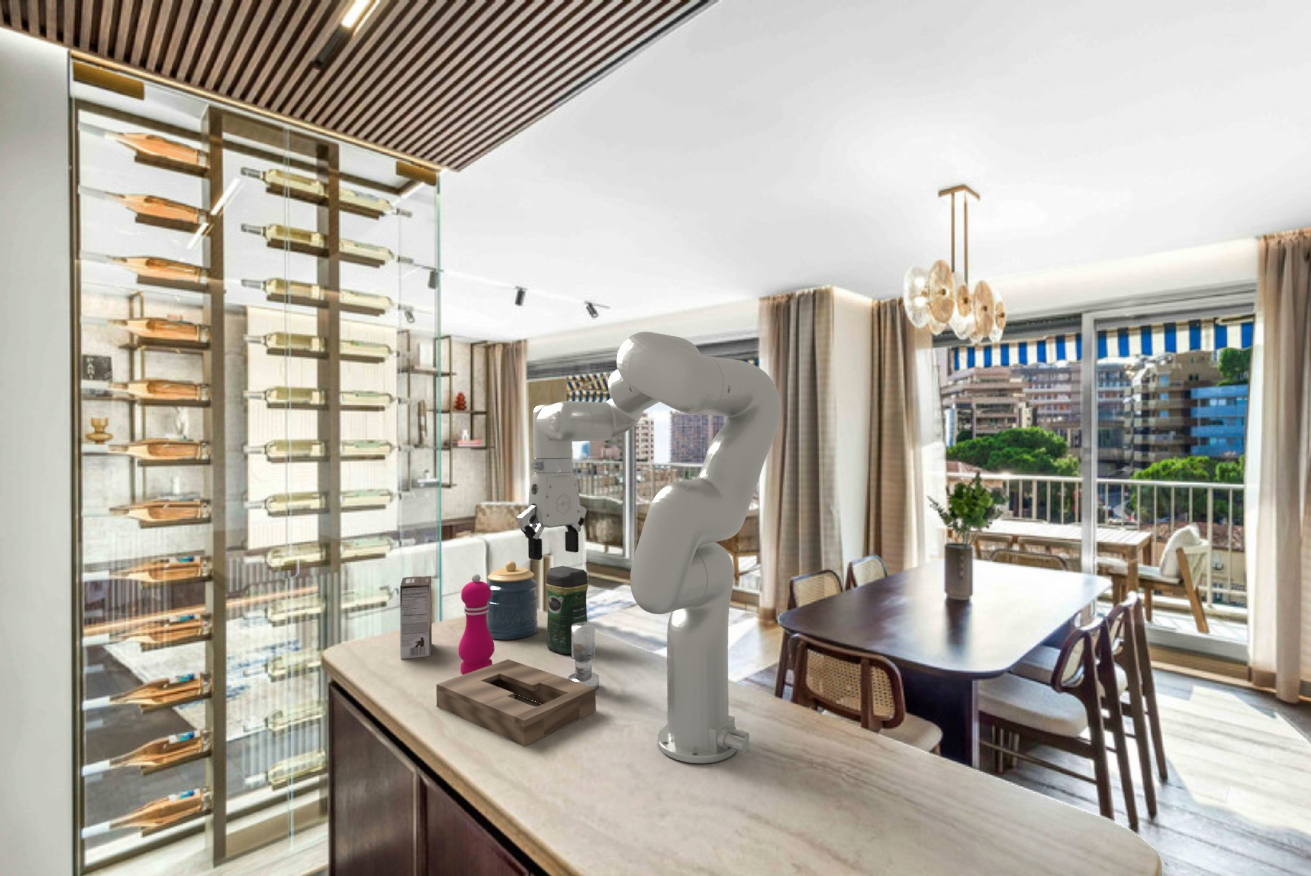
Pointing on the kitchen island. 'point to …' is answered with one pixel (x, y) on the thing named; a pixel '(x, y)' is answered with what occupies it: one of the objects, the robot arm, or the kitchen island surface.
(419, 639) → the coffee box
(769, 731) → the kitchen island surface
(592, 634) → the steel peg
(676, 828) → the kitchen island surface
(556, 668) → the kitchen island surface
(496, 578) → the canister
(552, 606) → the coffee jar
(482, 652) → the pepper mill
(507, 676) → the keyhole board
